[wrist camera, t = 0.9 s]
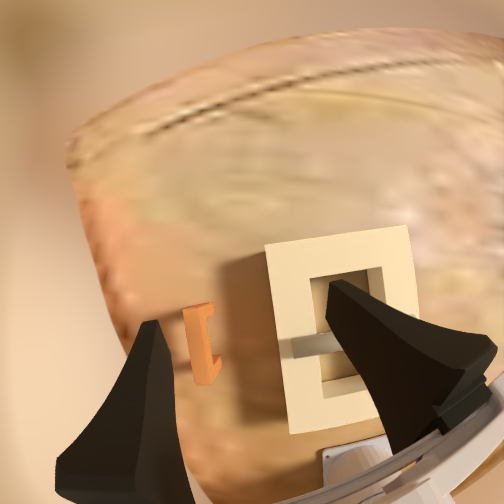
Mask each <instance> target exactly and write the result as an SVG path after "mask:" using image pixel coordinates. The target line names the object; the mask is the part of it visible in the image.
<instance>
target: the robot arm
mask: <svg viewBox="0 0 504 504" xmlns="http://www.w3.org/2000/svg"><path fill="white" fill-rule="evenodd" d="M325 318H326V320H327V322H328V324H329V326H330V328H331V330H332V332H333V334H334V336H335V338H336V340H337V341H338V343H339V344H340V346H341V347H342V349H343V350H344V352H345V353H346V355H347V356H348V358H349V359H350V361H351V362H352V364H353V365H354V367H355V368H356V370H357V371H358V373H359V374H360V376H361V378H362V380H363V381H364V383H365V385H366V387H367V389H368V391H369V394H370V396H371V398H372V400H373V402H374V405H375V407H376V409H377V411H378V414H379V416H380V419H381V421H382V424H383V427H384V429H385V432H386V434H385V435H381V436H378V437H374V438H371V439H367V440H363V441H359V442H355V443H351V444H346V445H342V446H337V447H332V448H327V449H324V450H323V451H322V463H323V483H324V487H323V488H320V489H318V490H315V491H312V492H309V493H306V494H303V495H300V496H297V497H294V498H290V499H287V500H283V501H280V502H276V503H272V504H456V503H455V502H454V500H453V498H452V497H451V495H450V492H451V491H452V490H453V489H454V488H456V487H457V486H458V485H459V484H460V483H461V482H462V481H464V480H465V479H466V478H467V477H468V476H469V475H470V474H471V473H472V472H473V471H474V470H475V469H476V468H477V467H478V466H479V465H480V464H481V463H482V462H483V461H484V460H485V459H486V458H487V457H488V456H489V455H490V454H491V453H492V452H493V451H494V449H495V448H496V447H497V446H498V445H499V444H500V443H501V442H502V440H503V439H504V371H503V372H502V373H501V374H500V375H499V376H498V377H497V378H496V379H494V380H493V381H492V382H491V383H490V384H489V385H488V387H487V386H486V384H485V382H486V380H487V379H486V377H485V376H484V375H483V374H484V372H485V371H486V369H487V368H488V366H489V365H490V363H491V362H492V360H493V359H494V357H495V355H496V353H497V350H498V347H497V346H496V345H495V344H494V343H493V342H492V341H491V339H490V338H489V337H488V336H487V335H482V334H474V333H466V332H461V331H456V330H452V329H448V328H444V327H440V326H437V325H434V324H431V323H428V322H425V321H422V320H420V319H417V318H415V317H412V316H410V315H408V314H405V313H403V312H401V311H399V310H397V309H395V308H393V307H391V306H389V305H387V304H385V303H383V302H382V301H380V300H378V299H376V298H374V297H373V296H371V295H369V294H367V293H366V292H364V291H362V290H360V289H359V288H357V287H355V286H354V285H352V284H350V283H348V282H346V281H344V280H342V279H340V280H337V281H333V282H329V291H328V301H327V309H326V317H325ZM327 455H329V456H328V457H325V456H327ZM416 460H417V461H416ZM415 461H416V464H415V465H413V466H412V467H410V468H409V469H407V470H406V471H404V472H403V473H402V472H401V471H400V470H401V469H403V468H405V467H407V466H408V465H410V464H412V463H413V462H415ZM55 468H56V469H55V491H56V493H57V494H58V495H60V496H61V497H63V498H65V499H67V500H69V501H72V502H74V503H76V504H196V503H195V500H194V498H193V494H192V491H191V488H190V484H189V481H188V477H187V473H186V470H185V466H184V461H183V457H182V453H181V448H180V443H179V438H178V433H177V426H176V414H175V394H174V374H173V367H172V360H171V354H170V351H169V348H168V346H167V343H166V341H165V338H164V336H163V333H162V330H161V328H160V325H159V322H158V320H151V321H146V322H143V323H142V324H141V326H140V329H139V331H138V334H137V337H136V339H135V342H134V344H133V346H132V349H131V351H130V353H129V356H128V358H127V360H126V363H125V364H124V367H123V369H122V371H121V373H120V375H119V377H118V379H117V381H116V383H115V384H114V386H113V388H112V390H111V392H110V393H109V395H108V396H107V398H106V400H105V402H104V403H103V405H102V406H101V408H100V409H99V410H98V412H97V413H96V415H95V416H94V418H93V419H92V420H91V422H90V423H89V424H88V425H87V427H86V428H85V429H84V430H83V432H82V433H81V434H80V435H79V436H78V437H77V439H76V440H75V441H74V442H73V443H72V444H71V445H70V446H69V447H68V448H67V449H66V450H65V451H64V452H63V453H62V454H61V455H60V456H59V457H57V460H56V467H55Z"/></svg>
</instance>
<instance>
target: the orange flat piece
mask: <svg viewBox="0 0 504 504" xmlns="http://www.w3.org/2000/svg"><path fill="white" fill-rule="evenodd" d="M182 310H183V317H184V324H185V330H186V336H187V342H188V348H189V354H190V359H191V365H192V370H193V376H194V381H195V386H202V385H211V384H212V382H213V380H214V379H215V377H216V375H217V374H218V372H219V370H220V369H221V367H222V359H221V355H218V356H212V353H211V347H210V341H209V335H208V328H207V322H206V318H207V317H209V316H210V315H212V314H214V307H213V302H212V303H204V304H198V305H195V306H192V307H189V308H186V309H182Z"/></svg>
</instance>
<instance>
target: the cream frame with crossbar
mask: <svg viewBox="0 0 504 504" xmlns="http://www.w3.org/2000/svg"><path fill="white" fill-rule="evenodd" d="M265 251H266V258H267V265H268V272H269V279H270V286H271V293H272V300H273V307H274V315H275V322H276V329H277V337H278V344H279V352H280V359H281V367H282V375H283V383H284V390H285V398H286V406H287V414H288V422H289V431H290V434H298V433H304V432H311V431H316V430H322V429H327V428H332V427H337V426H342V425H347V424H351V423H355V422H359V421H363V420H367V419H371V418H375V417H379V414H378V411H377V409H376V407H375V405H374V402H373V400H372V398H371V396H370V394H369V391H368V389H367V387H366V385H365V383H364V381H363V380H362V378H361V376H360V375H355V376H351V377H346V378H341V379H336V380H331V381H326V382H322V381H321V370H320V361H319V355H321V354H327V353H332V352H337V351H343V349H342V347H341V346H340V344H339V343H338V341H337V340H336V338H335V336H334V334H333V332H332V331H331V332H326V333H320V334H317V333H316V325H315V317H314V309H313V301H312V294H311V286H310V279H309V278H315V277H321V276H327V275H333V274H340V273H346V272H352V271H357V270H363V269H367V276H368V283H369V291H370V295H371V296H373V297H374V298H376V299H378V300H380V301H382V302H383V303H385V304H387V305H389V306H391V307H393V308H395V309H397V310H399V311H401V312H403V313H405V314H408V315H410V316H412V317H415V318H417V319H419V308H418V297H417V288H416V279H415V272H414V265H413V258H412V252H411V246H410V240H409V234H408V229H407V225H401V226H394V227H387V228H380V229H373V230H366V231H359V232H352V233H345V234H338V235H331V236H324V237H317V238H310V239H303V240H296V241H289V242H282V243H275V244H268V245H265Z"/></svg>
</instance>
